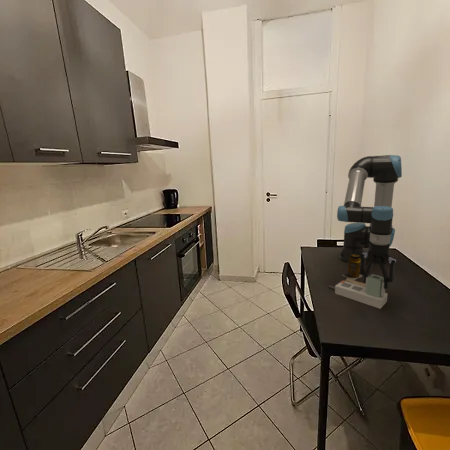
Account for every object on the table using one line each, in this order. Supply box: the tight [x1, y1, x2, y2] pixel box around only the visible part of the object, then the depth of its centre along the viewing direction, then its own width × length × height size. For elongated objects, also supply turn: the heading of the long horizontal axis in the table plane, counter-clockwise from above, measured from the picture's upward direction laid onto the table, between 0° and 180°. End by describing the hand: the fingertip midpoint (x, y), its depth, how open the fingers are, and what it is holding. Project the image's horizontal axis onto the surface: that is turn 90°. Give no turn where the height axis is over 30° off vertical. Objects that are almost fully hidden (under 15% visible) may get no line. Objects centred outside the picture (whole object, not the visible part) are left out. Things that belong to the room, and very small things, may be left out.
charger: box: [366, 273, 384, 298], centre depth 116 cm, size 5×5×10 cm
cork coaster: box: [344, 277, 366, 287], centre depth 133 cm, size 10×10×1 cm
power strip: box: [328, 280, 388, 310], centre depth 123 cm, size 25×8×4 cm, turn 43°
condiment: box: [341, 254, 363, 281], centre depth 143 cm, size 7×8×12 cm
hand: (374, 292), depth 116 cm, fingers open, 6 cm apart
